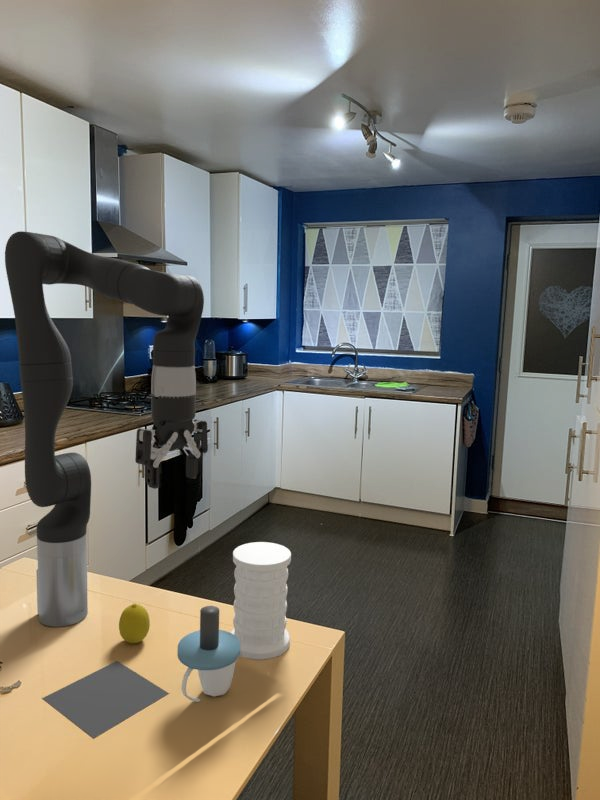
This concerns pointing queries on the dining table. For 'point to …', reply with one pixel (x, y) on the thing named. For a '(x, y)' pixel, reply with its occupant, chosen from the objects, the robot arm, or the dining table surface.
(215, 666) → the lid
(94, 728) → the mat
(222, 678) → the cup
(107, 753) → the dining table surface
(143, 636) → the lemon
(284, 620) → the decorative container
